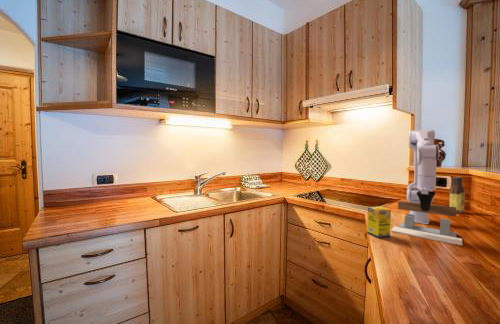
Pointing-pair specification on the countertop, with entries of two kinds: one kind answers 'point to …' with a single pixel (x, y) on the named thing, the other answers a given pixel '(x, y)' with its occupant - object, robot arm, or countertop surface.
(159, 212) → the countertop surface
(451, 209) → the rail
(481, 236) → the countertop surface
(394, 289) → the countertop surface
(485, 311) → the countertop surface
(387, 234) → the supplement box
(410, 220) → the rack
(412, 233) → the mat
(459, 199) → the sauce bottle
